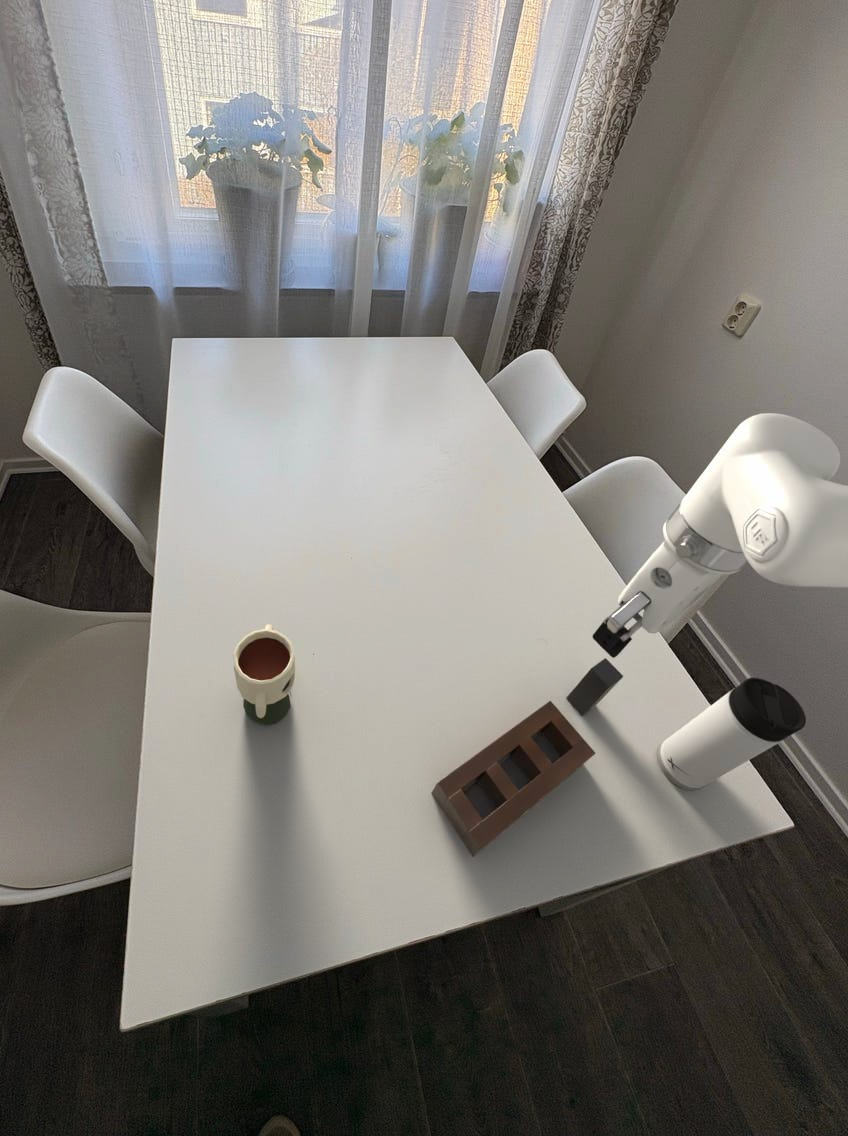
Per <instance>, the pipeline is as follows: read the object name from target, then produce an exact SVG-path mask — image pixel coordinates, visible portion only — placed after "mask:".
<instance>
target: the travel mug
mask: <svg viewBox="0 0 848 1136" xmlns="http://www.w3.org/2000/svg"><path fill="white" fill-rule="evenodd" d="M806 719H807V717H806V713H805V711H804V709H803V707H802V705H801V704H800V703H799V701H798V700H797V699H796V697H794V696H793V695H792V694H791V693H790V692H789V691H788V690H786V688H784V687H782V686H780V685H778V684H777V683H772V682H771V681H768V680H766V679H763V678H759V677H749V678H746V679H745V680H744V681H743V682H741V683H740V684H739V685H737V686H735V687H734V688H732V689H731V690H730V691H728V692H727V693H725V694H724V695H723V696H721V697H720V698H719V699H718V700H716V701H715V702H714V703H712V704H711V705H710V706H709V707H707V708H706V709H705V710H703V711H701V713H699V714H698V715H696V717H694V718H693V719H691V720H690V721H689V722H687V723H686V724H685V725H683V726H682V727H680V729H678V730H677V731H675V732H674V733H673V734H672V735H670V736H668V738H666V739H665V740H664V741H662V742H661V743H660V744H659V746H657V751H656V758H657V763H658V766H659V767H660V769H661V771H662V773H663V774H664V776H665V777H666V778H667V779H668V780H669V781H670V782H671V783H672V784H673V785H675V786H677V787H679V788H680V789H684V790H687V791H697V790H700V789H701V788H704V787H705V786H707V785H708V784H710V783H711V782H713V781H716V780H717V779H719V778H721V777H723V776H724V775H726V774H728V773H729V772H731V771H733V770H734V769H736V768H738V767H740V766H741V765H743V764H745V763H747V762H749V761H750V760H752V759H753V758H755V757H757V756H759V755H761V754H762V753H764V752H766V751H767V750H769V749H771V748H773V747H774V746H776V745H778V744H780V743H781V742H783V741H785V740H786V739H787V738H788V737H791V736H792V735H794V734H796V733H798V732H799V731H801V730H803V728H804V727H805V726H806V723H807V720H806Z"/></svg>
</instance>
